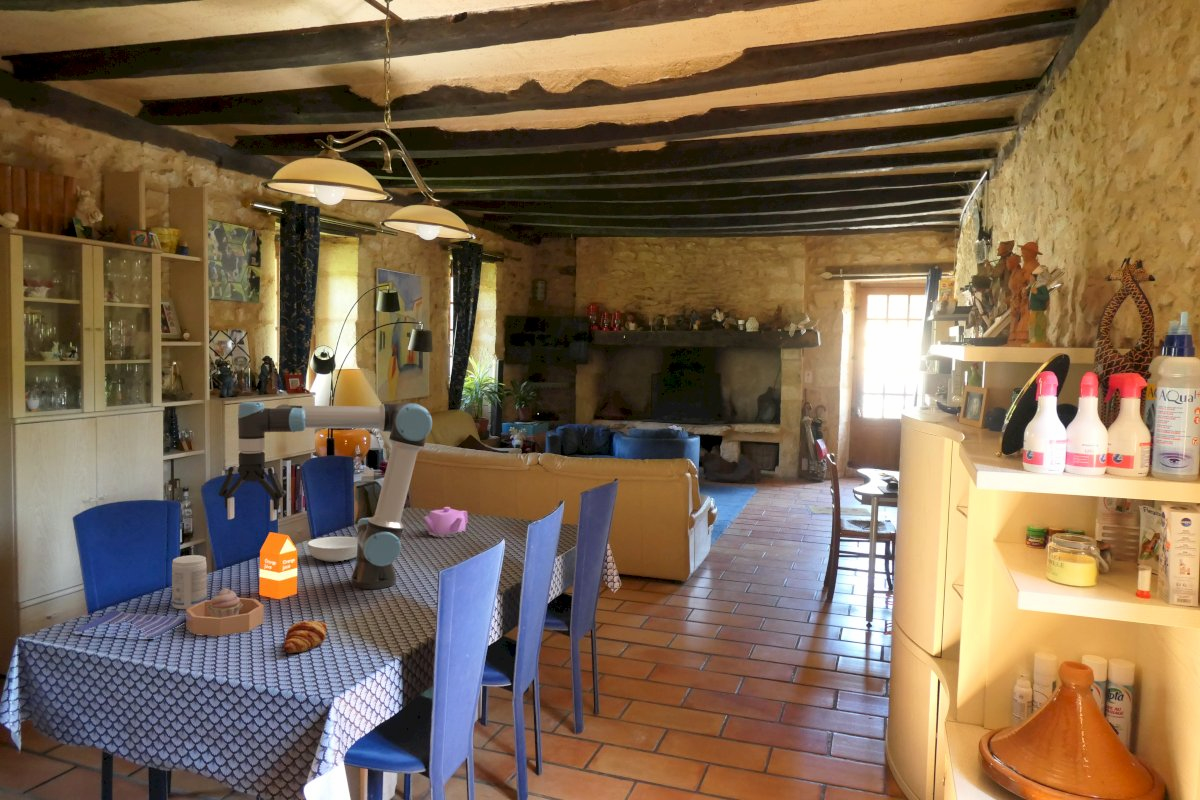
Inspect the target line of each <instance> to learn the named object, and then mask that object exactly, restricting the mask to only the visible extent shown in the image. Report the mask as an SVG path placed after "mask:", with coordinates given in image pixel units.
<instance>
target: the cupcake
mask: <svg viewBox="0 0 1200 800" xmlns="http://www.w3.org/2000/svg"><path fill="white" fill-rule="evenodd" d="M239 598H240V597H238V596H237V594H236V593H235V592H234V591H233V590H231V589H229V588H228V587H225V588H223V589H221V590H219V591H218V592H217V594H216V595H215V596H214V597H213V598H211V600H212V601H211V603H212V604H210V606H207V607H208V609H209V611H210V613H211V617H217V618H222V617H228V616H234V615H238V614H239V610H240V609H241V607H242V605H243V604H241V602H240V599H239Z"/></svg>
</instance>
